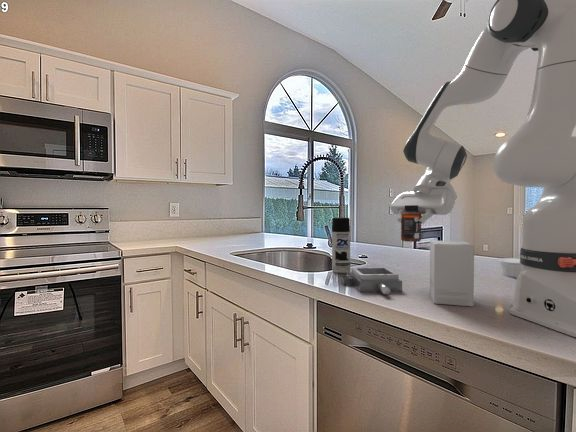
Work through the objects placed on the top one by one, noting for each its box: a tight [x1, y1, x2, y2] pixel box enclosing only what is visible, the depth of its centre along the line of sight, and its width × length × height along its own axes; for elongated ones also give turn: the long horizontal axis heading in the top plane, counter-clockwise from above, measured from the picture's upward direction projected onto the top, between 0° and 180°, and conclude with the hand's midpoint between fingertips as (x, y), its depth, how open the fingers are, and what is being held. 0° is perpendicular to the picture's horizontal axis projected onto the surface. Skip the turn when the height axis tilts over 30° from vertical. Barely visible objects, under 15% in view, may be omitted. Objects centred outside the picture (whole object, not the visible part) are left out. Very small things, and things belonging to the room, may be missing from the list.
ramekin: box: [498, 257, 522, 279], centre depth 109 cm, size 11×11×5 cm
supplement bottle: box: [400, 205, 422, 243], centre depth 101 cm, size 6×6×11 cm
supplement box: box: [429, 239, 475, 308], centre depth 82 cm, size 9×9×15 cm
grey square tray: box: [340, 266, 403, 296], centre depth 95 cm, size 19×15×4 cm
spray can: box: [331, 217, 352, 274], centre depth 118 cm, size 7×7×20 cm
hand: (409, 221), depth 101 cm, fingers closed on supplement bottle, 6 cm apart
